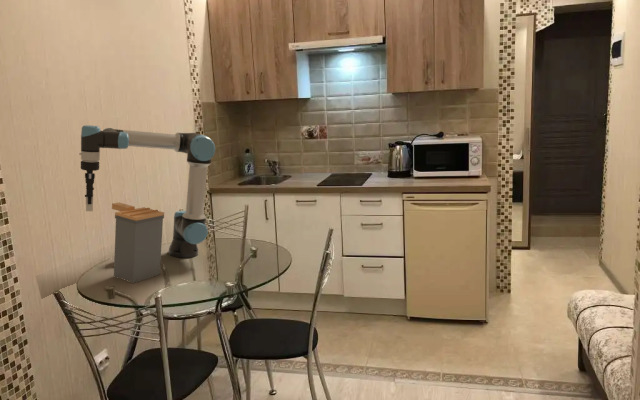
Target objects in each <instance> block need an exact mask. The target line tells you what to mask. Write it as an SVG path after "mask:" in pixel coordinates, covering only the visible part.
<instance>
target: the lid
mask: <svg viewBox="0 0 640 400" xmlns="http://www.w3.org/2000/svg"><path fill="white" fill-rule="evenodd" d="M111 209H112V210H114V211H115V212H114V216H115V215H117V216H121V217H124V218H128V219H132V220H135V221H137V220H142V219H147V218H152V217H157V216H162V215H164V216H165V212H163V211H160V210H158V209H152V208H150V207H138V208H136V207H135V206H133V205H130V204H125V203H122V202H115V203H112V204H111Z"/></svg>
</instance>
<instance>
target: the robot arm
mask: <svg viewBox="0 0 640 400" xmlns="http://www.w3.org/2000/svg"><path fill="white" fill-rule="evenodd" d="M129 147H136V148H137V147H138V148H139V147H140V148H146V149H147V148H148V149H149V148H150V149H163V150H173V151H175V152H176V153H182V154H186V155H187V156H186V162H187V163H188V165H189V170H188V180H187V181H188V182H187V192H186V193H187V194H186V206H185V210H177V211H175V212H174V215H173V230H172V240H171V243H170V246H169V247H168V255H169V256H172V257H175V258H180V259H181V258H182V259H183V258H184V259H186V258H187V259H189V258H194V257H197V256H198V255H199V247H198V244H200V243H201V244H202V243H203V242H204V241H205V240H206V238H207V237H208V235H209V234H208V233H209V231H208V226H207V224H206V223H207V222H206V221H207V216H206V215H205V214H204V212H205V201H206V199H205V198H206V187H207V178H208V177H207V176H208V167H209V166H210V165H211V164H212V158H213V157H214V155H215V153H216V145H215V143H214V141H213V140H212V139H211V138H210V137H209V136H207V135H204V134H201V133H199V132H176V133H163V132H162V133H161V132H151V131H140V130H127V129H118V128H116V129H115V128H111V127H106V128H104V129H103V130H101V127H100V126H98V125H88V124H86V125H83V126H82V127H81V135H80V152H79V156H80V170H83V171H86V172H85V173H84V178H85V194H84V197H85V212H93V211H94V210H93V209H94V190H95V187H94V184H95V177H96V174H95V173H93V172H94V171H98V170H99V169H100V162H99V161H101V160H100V158H101V157H100V156H101V155H100V153H101V149H118V150H123V149H124V150H125V149H128V148H129Z"/></svg>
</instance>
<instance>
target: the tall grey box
mask: <svg viewBox="0 0 640 400" xmlns="http://www.w3.org/2000/svg"><path fill="white" fill-rule="evenodd" d="M164 218H165V214H164V215H162V216H157V217H152V218H147V219H142V220H137V221H135V220H132V219H128V218H124V217H121V216H117V215H115V214H114V219H115V231H114V232H115V233H114V234H115V236H114V237H115V238H114V264H113V277H114V276H115V277H114V278H117V277H118V278H117V279H120V278H123V279H125V280H128V281H130V282H129V283H131V282H132V283H131V284H135V283H139V282H142V281H144V280H147V279H151V278H154V277H156V276H159V275H160V274H161V260H162V258H161V257H162V245H163V244H162V243H163V224H164V223H163V222H164V221H163V220H164ZM125 280H124V281H125ZM128 281H127V282H128Z"/></svg>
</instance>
